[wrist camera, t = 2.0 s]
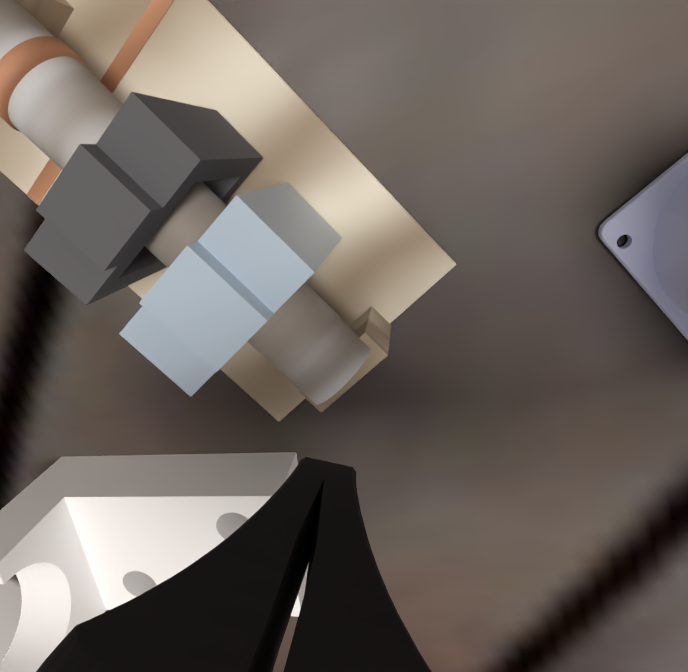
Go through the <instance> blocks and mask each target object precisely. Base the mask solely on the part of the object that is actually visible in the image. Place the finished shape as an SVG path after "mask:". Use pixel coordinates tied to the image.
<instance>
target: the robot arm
mask: <svg viewBox="0 0 688 672" xmlns="http://www.w3.org/2000/svg"><path fill="white" fill-rule="evenodd" d="M598 232H599V237H600V239H601V241H602V242H603V243H604V244H605V245H606V246H607V248H608V249H609V250H610V251H611V252H612V253H613V255H614V256H615V257H616V258H617V259H618V260H619V261H620V263H621V264H622V265H623V266H624V267H625V268H626V270H627V271H628V272H629V273H630V274H631V275H632V277H633V278H634V279H635V280H636V281H637V282H638V284H639V285H640V286H641V287H642V288H643V289H644V290H645V292H646V293H647V294H648V295H649V296H650V297H651V299H652V300H653V301H654V302H655V303H656V304H657V306H658V307H659V308H660V309H661V310H662V311H663V313H664V314H665V315H666V316H667V317H668V318H669V319H670V321H671V322H672V323H673V324H674V325H675V326H676V328H677V329H678V330H679V331H680V332H681V333H682V335H683V336H684V337H685V338H686V339H687V340H688V153H687V154H686V155H684V156H683V157H682V158H681V159H679V160H678V161H677V162H676V163H675V164H673V165H672V166H671V167H670V168H668V169H667V170H666V171H665V172H664V173H662V174H661V175H660V176H659V177H657V178H656V179H655V180H654V181H653V182H651V183H650V184H649V185H648V186H646V187H645V188H644V189H643V190H642V191H640V192H639V193H638V194H637V195H635V196H634V197H633V198H632V199H630V200H629V201H628V202H627V203H626V204H624V205H623V206H622V207H621V208H619V209H618V210H617V211H616V212H615V213H613V214H612V215H611V216H610V217H608V218H607V219H606V220H605V221H604V222H603V223H602V224H601V225H600V228H599V230H598ZM622 235H627V238H628V239H627V242H626V244H625V245H623V246H621V247H618V246H617V240H618V238H619V237H620V236H622ZM308 563H309V565H308ZM307 566H308V572H307V579H306V586H305V593H304V597H303V601H302V605H301V609H300V613H299V617H298V620H297V624H296V628H295V632H294V636H293V639H292V643H291V647H290V651H289V654H288V658H287V662H286V665H285V669H284V672H431V670H430V669H429V667H428V665H427V664H426V662H425V661H424V659H423V657H422V656H421V654H420V653H419V651H418V649H417V647H416V645H415V644H414V642H413V640H412V638H411V636H410V635H409V633H408V631H407V629H406V627H405V626H404V624H403V622H402V620H401V618H400V617H399V615H398V613H397V610H396V608H395V606H394V604H393V602H392V600H391V598H390V596H389V594H388V591H387V589H386V587H385V584H384V582H383V580H382V577H381V575H380V572H379V570H378V567H377V564H376V562H375V559H374V556H373V553H372V550H371V547H370V544H369V541H368V537H367V534H366V530H365V527H364V523H363V519H362V515H361V511H360V506H359V501H358V495H357V488H356V471H355V470H354V468H353V467H349V466H344V465H340V464H335V463H331V462H326V461H321V460H317V459H312V458H308V457H305V458H304V459H302V460H301V461H300V462H299V464H298V465H297V467H296V468H295V470H294V471H293V472H292V474H291V475H290V476H289V477H288V479H287V480H286V481H285V482H284V483H283V484H282V486H281V487H280V488H279V489H278V490H277V491H276V492H275V493H274V494H273V495H272V496H271V497H270V499H269V500H268V501H267V502H266V503H265V504H264V505H263V506H262V507H261V508H260V509H259V510H258V511H257V512H256V513H255V514H253V515H252V516H251V517H250V518H249V519H248V520H247V521H246V522H245V523H244V524H243V525H242V526H241V527H239V528H238V529H237V530H236V531H235V532H233V533H232V534H231V535H230V536H229V537H227V538H226V539H225V540H224V541H222V542H221V543H220V544H219V545H217V546H216V547H215V548H213V549H212V550H211V551H209V552H208V553H207V554H205V555H204V556H202V557H201V558H199V559H198V560H197V561H195V562H194V563H192V564H191V565H189V566H188V567H186V568H185V569H183V570H182V571H180V572H179V573H177V574H175V575H174V576H172V577H171V578H169V579H167V580H165V581H164V582H162V583H160V584H158V585H157V586H155V587H153V588H151V589H150V590H148V591H146V592H144V593H143V594H141V595H139V596H137V597H135V598H134V599H132V600H130V601H128V602H126V603H124V604H122V605H120V606H117V607H115V608H113V609H111V610H109V611H107V612H105V613H102V614H100V615H98V616H96V617H94V618H92V619H90V620H87V621H85V622H83V623H80V624H78V625H76V626H75V627H74V628H73V629H72V630H71V631H70V632H69V633H68V635H67V636H66V637H65V638H64V639H63V640H62V641H61V642H60V644H59V645H58V646H57V647H56V648H55V649H54V650H53V652H52V653H51V654H50V655H49V656H48V657H47V658H46V659H45V661H44V662H43V663H42V665H41V666H40V667H39V669H38V670H37V671H36V672H273V668H274V665H275V661H276V658H277V655H278V651H279V648H280V645H281V642H282V639H283V636H284V633H285V631H286V628H287V625H288V622H289V619H290V616H291V613H292V610H293V607H294V604H295V602H296V599H297V596H298V593H299V590H300V587H301V584H302V581H303V578H304V575H305V572H306V569H307Z"/></svg>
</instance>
